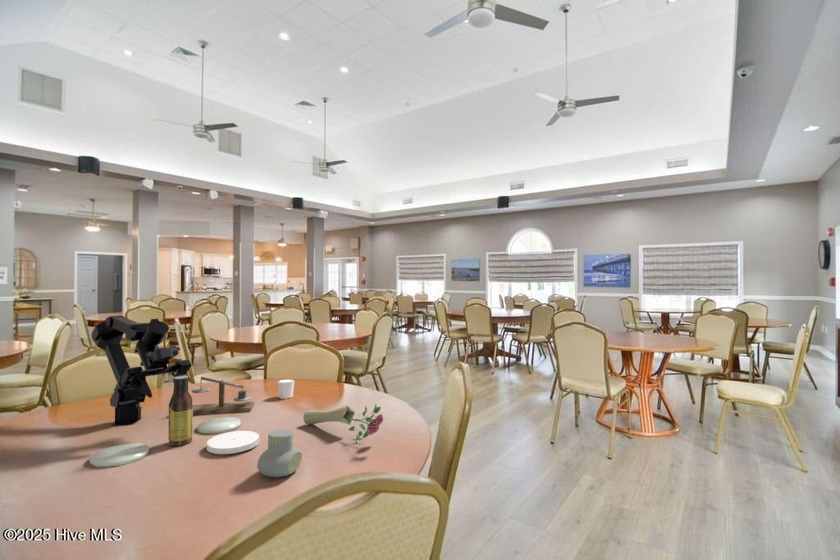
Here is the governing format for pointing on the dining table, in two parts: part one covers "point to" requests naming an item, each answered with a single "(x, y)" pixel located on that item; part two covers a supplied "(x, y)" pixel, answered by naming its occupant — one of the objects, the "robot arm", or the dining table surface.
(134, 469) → the dining table surface
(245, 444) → the plastic lid
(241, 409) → the balance scale
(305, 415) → the flower vase
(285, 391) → the white short cylinder
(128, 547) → the dining table surface
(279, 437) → the air freshener
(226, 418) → the dish right
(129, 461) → the dish left
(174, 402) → the sauce bottle
